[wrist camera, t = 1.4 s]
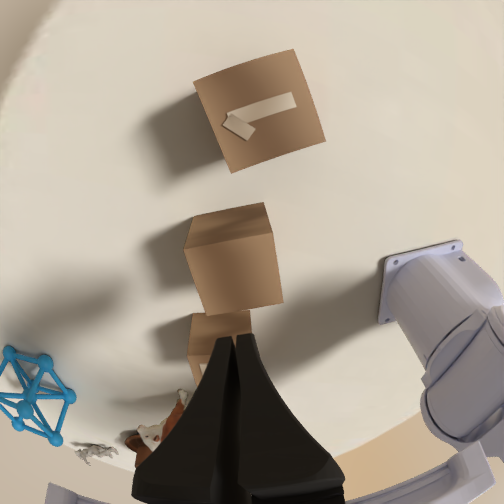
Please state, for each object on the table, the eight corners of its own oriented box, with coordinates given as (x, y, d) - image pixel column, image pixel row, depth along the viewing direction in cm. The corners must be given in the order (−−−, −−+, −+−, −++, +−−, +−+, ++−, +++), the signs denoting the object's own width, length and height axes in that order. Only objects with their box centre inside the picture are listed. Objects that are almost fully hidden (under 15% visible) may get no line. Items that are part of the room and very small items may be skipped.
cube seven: (249, 309, 24) (253, 353, 20) (252, 347, 27) (255, 389, 22) (192, 312, 24) (186, 356, 20) (201, 349, 27) (198, 391, 22)
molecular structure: (80, 395, 32) (64, 451, 23) (34, 384, 31) (15, 431, 22) (51, 352, 27) (23, 414, 18) (4, 341, 26) (-24, 392, 17)
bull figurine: (140, 387, 30) (128, 443, 23) (246, 376, 29) (250, 441, 22) (155, 404, 32) (148, 457, 25) (254, 395, 31) (259, 453, 24)
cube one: (277, 63, 15) (293, 48, 10) (302, 131, 17) (326, 141, 13) (203, 88, 15) (192, 81, 11) (231, 156, 18) (231, 174, 13)
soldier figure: (126, 449, 45) (96, 462, 44) (113, 432, 46) (85, 446, 45) (107, 460, 37) (77, 472, 36) (94, 441, 39) (65, 454, 38)
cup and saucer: (205, 444, 40) (204, 474, 34) (171, 456, 44) (169, 482, 38) (142, 422, 35) (137, 455, 30) (117, 436, 39) (112, 463, 34)
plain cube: (263, 201, 20) (272, 232, 15) (273, 261, 22) (283, 302, 18) (193, 215, 20) (183, 249, 15) (210, 273, 22) (206, 315, 18)
